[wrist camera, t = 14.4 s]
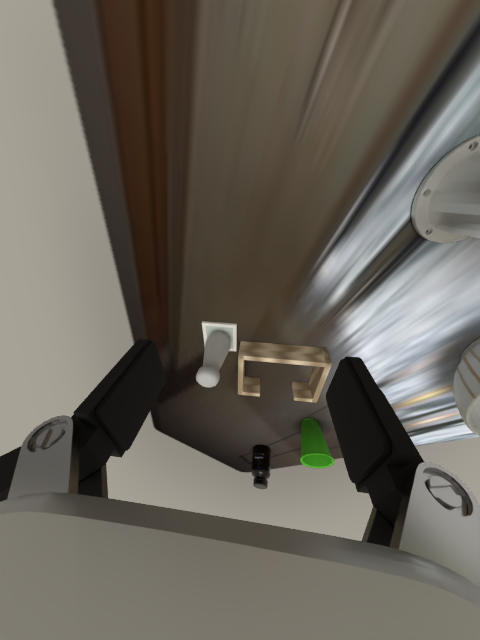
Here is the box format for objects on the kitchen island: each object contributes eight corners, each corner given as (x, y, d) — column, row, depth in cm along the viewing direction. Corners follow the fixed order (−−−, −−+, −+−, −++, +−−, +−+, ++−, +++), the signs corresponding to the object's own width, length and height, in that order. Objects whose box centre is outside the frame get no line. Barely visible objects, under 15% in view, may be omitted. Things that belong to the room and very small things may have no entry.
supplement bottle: (260, 442, 73) (259, 481, 63) (273, 448, 74) (274, 488, 64) (249, 447, 76) (246, 485, 66) (262, 453, 78) (262, 491, 68)
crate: (325, 347, 44) (332, 363, 40) (312, 386, 52) (316, 402, 47) (240, 340, 46) (238, 355, 41) (240, 378, 53) (238, 394, 49)
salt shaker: (219, 350, 47) (205, 395, 36) (203, 335, 45) (183, 378, 34) (237, 340, 45) (228, 386, 34) (221, 323, 43) (206, 367, 32)
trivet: (236, 323, 43) (236, 325, 42) (236, 349, 47) (236, 351, 47) (202, 321, 44) (201, 322, 43) (205, 347, 48) (205, 348, 48)
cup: (327, 426, 62) (338, 466, 52) (301, 431, 65) (306, 469, 56) (318, 411, 58) (328, 452, 49) (290, 417, 61) (295, 456, 52)
